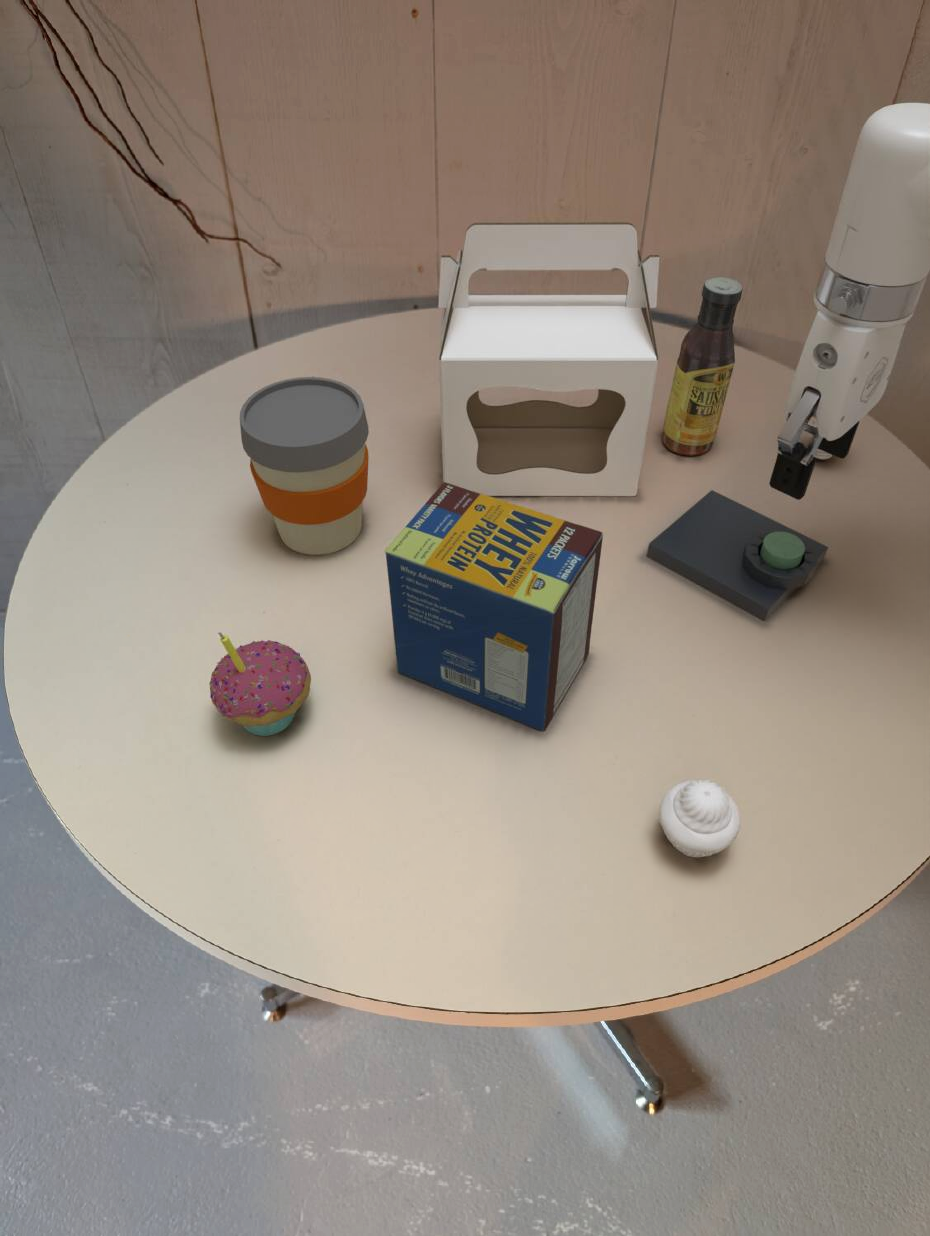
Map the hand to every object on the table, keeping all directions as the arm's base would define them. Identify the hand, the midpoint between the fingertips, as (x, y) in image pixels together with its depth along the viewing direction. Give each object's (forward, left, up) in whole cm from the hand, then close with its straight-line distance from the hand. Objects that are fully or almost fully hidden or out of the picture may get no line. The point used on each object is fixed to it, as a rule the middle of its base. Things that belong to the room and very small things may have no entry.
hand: (808, 470), depth 83 cm
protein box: (+14, +28, -14) cm, 34 cm away
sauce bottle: (+20, -14, -14) cm, 28 cm away
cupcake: (+25, +46, -14) cm, 54 cm away
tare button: (0, 0, -11) cm, 11 cm away
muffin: (-10, +31, -14) cm, 36 cm away
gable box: (+31, +1, -14) cm, 34 cm away
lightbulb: (+7, -22, -14) cm, 27 cm away
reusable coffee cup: (+41, +26, -14) cm, 50 cm away
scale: (+5, 0, -14) cm, 15 cm away
